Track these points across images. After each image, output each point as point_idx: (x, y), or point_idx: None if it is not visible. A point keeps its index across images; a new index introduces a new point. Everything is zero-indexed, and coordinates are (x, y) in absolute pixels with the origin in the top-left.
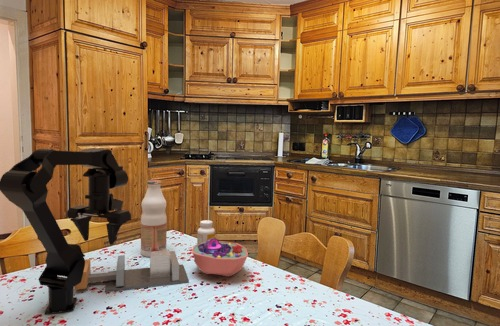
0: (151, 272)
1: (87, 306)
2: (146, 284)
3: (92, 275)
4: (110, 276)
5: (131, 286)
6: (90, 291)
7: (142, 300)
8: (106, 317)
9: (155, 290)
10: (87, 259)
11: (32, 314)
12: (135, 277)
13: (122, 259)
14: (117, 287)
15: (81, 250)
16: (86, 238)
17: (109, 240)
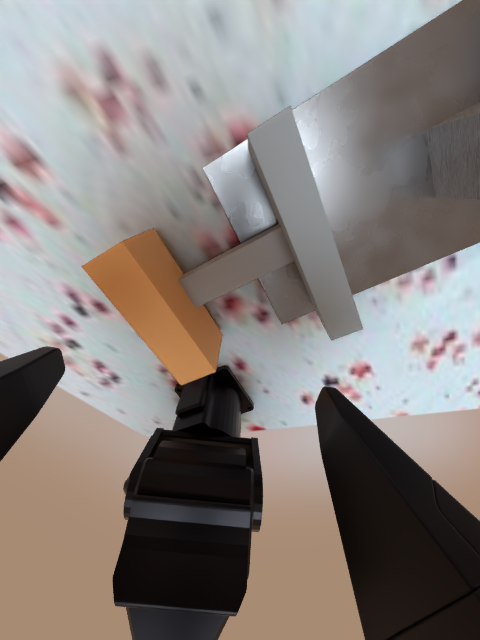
0: (460, 195)
1: (274, 385)
2: (422, 261)
3: (199, 288)
4: (269, 270)
5: (365, 288)
6: (232, 321)
7: (414, 341)
8: None
9: (453, 276)
10: (110, 249)
11: None
12: (360, 205)
13: (308, 200)
14: None
15: (247, 563)
16: (49, 378)
17: (329, 455)
